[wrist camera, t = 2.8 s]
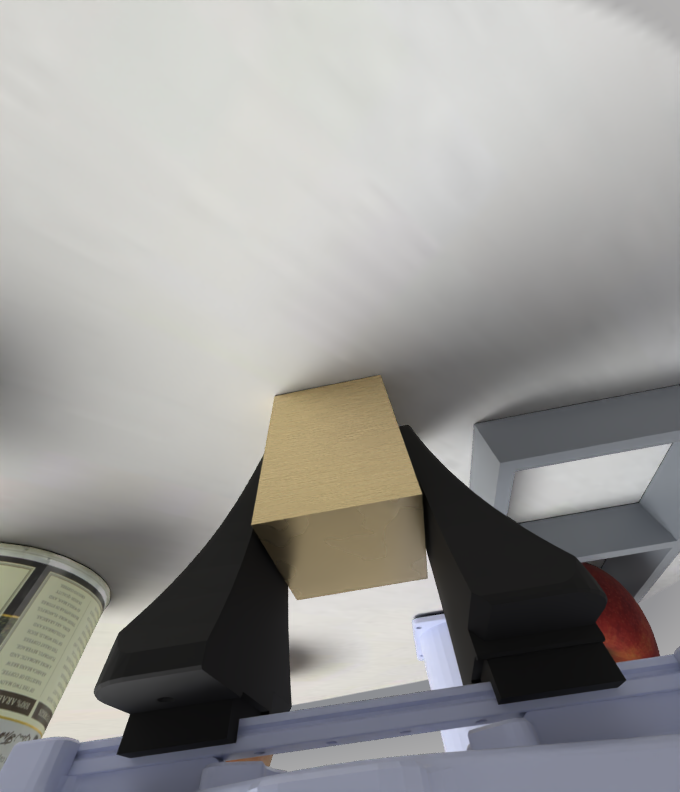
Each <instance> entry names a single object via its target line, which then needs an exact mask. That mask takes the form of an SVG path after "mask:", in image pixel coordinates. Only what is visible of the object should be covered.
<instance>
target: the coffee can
mask: <svg viewBox="0 0 680 792" xmlns="http://www.w3.org/2000/svg"><path fill="white" fill-rule="evenodd" d="M109 602H110V589H109V587H108V585H107V584H106V583H105V581H104V580H103V579H102V578H101V577H100V576H98V575H97V574H96V573H95V572H93V571H92V570H90V569H88V568H87V567H85V566H83V565H81V564H79V563H77V562H75V561H73V560H71V559H69V558H66V557H63V556H60V555H56V554H55V553H52V552H49V551H45V550H42V549H37V548H33V547H28V546H21V545H14V544H5V543H0V771H1V769H2V767H3V765H4V763H5V762H6V760H7V758H8V756H9V754H10V752H11V750H12V748H13V747H14V745H16V744H17V743H18V742H23V741H30V740H36V739H41V738H42V736H43V734H44V732H45V730H46V728H47V726H48V724H49V722H50V720H51V718H52V716H53V714H54V711H55V709H56V707H57V705H58V703H59V701H60V699H61V697H62V695H63V693H64V691H65V689H66V687H67V685H68V683H69V681H70V679H71V676H72V674H73V672H74V670H75V668H76V666H77V664H78V662H79V660H80V658H81V656H82V654H83V652H84V649H85V647H86V645H87V643H88V641H89V639H90V637H91V635H92V633H93V631H94V629H95V627H96V625H97V623H98V621H99V619H100V617H101V615H102V613H103V611H104V609H105V608H106V607H107V605H108V603H109Z"/></svg>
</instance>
